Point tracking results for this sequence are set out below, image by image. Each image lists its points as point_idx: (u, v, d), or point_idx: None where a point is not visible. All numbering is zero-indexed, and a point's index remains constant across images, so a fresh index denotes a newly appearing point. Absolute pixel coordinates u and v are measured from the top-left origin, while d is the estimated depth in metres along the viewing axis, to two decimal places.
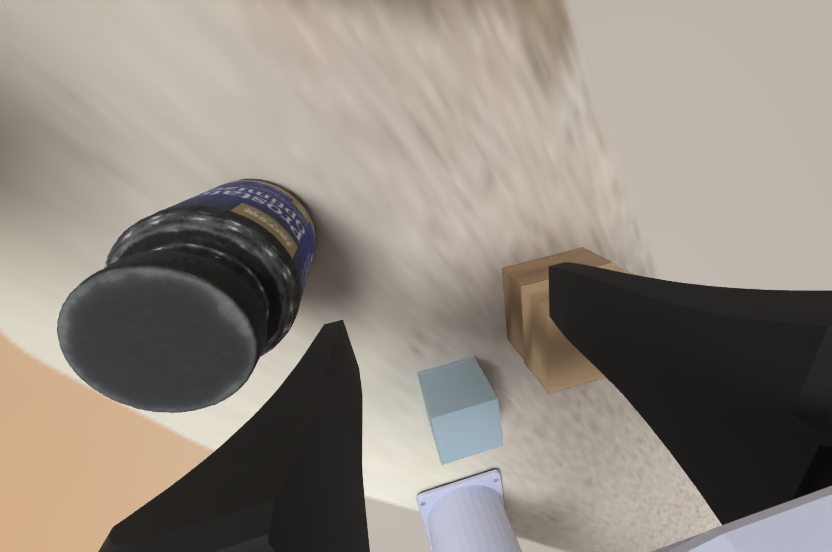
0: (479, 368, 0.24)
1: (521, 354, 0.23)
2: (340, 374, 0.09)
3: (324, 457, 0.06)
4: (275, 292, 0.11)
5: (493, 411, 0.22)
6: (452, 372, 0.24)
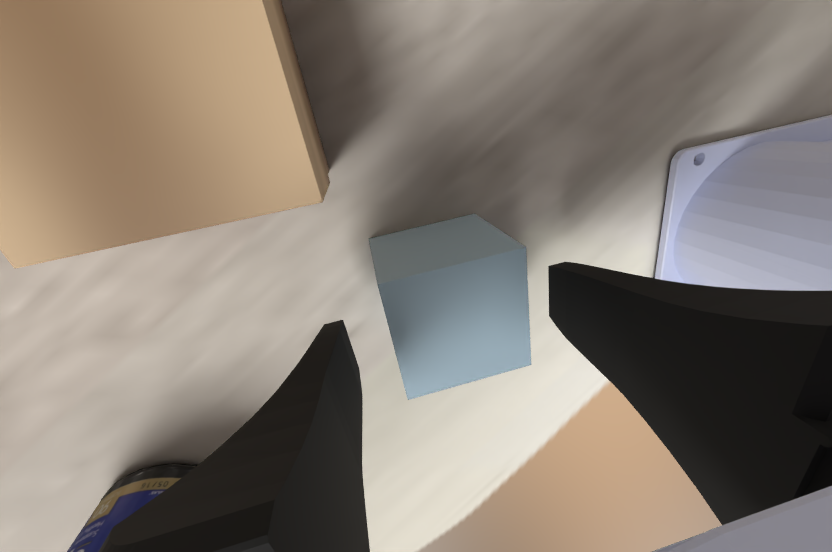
0: (371, 252, 0.12)
1: None
2: (340, 374, 0.09)
3: (324, 457, 0.06)
4: None
5: (414, 288, 0.10)
6: None
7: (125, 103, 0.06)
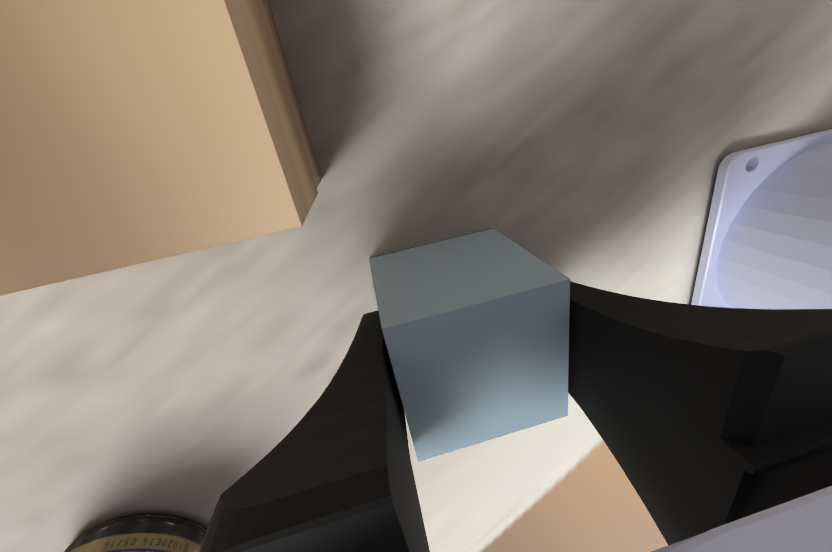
0: (373, 278, 0.10)
1: None
2: (388, 361, 0.09)
3: (395, 436, 0.06)
4: None
5: (429, 332, 0.08)
6: None
7: None
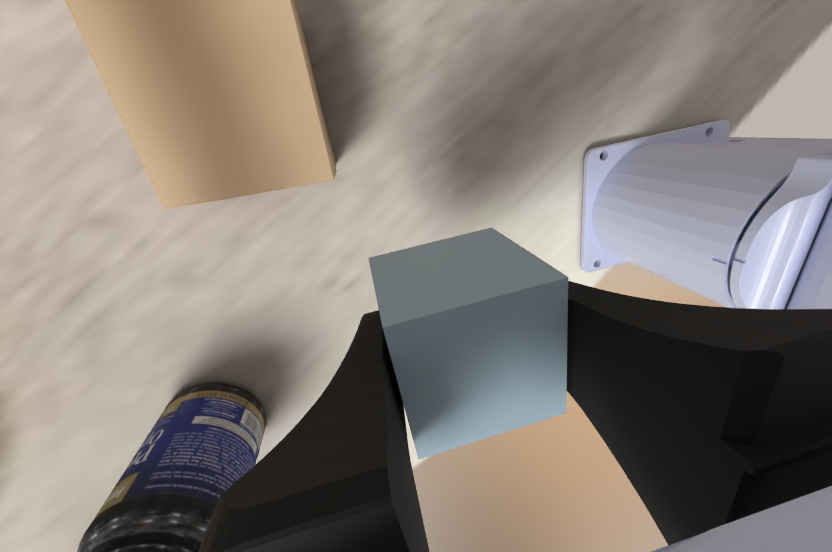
0: None
1: None
2: (388, 361, 0.09)
3: (395, 435, 0.06)
4: (124, 538, 0.13)
5: (429, 330, 0.08)
6: None
7: (234, 123, 0.11)
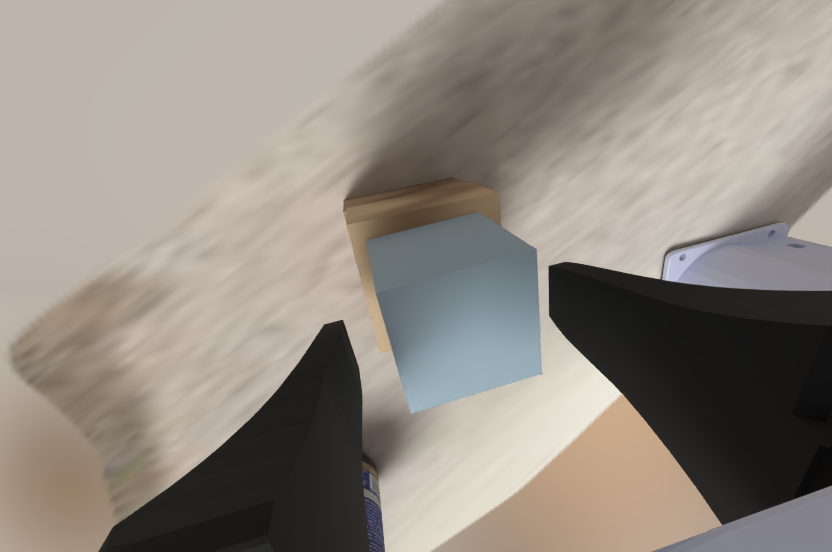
0: (369, 256, 0.11)
1: None
2: (340, 374, 0.09)
3: (324, 457, 0.06)
4: None
5: (416, 296, 0.09)
6: None
7: None
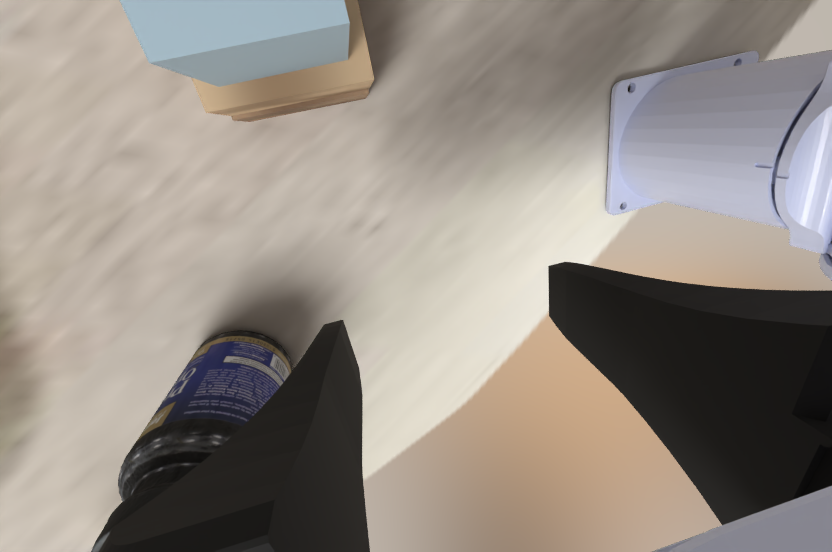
0: None
1: (363, 95, 0.15)
2: (340, 374, 0.09)
3: (324, 457, 0.06)
4: (167, 457, 0.13)
5: None
6: None
7: None
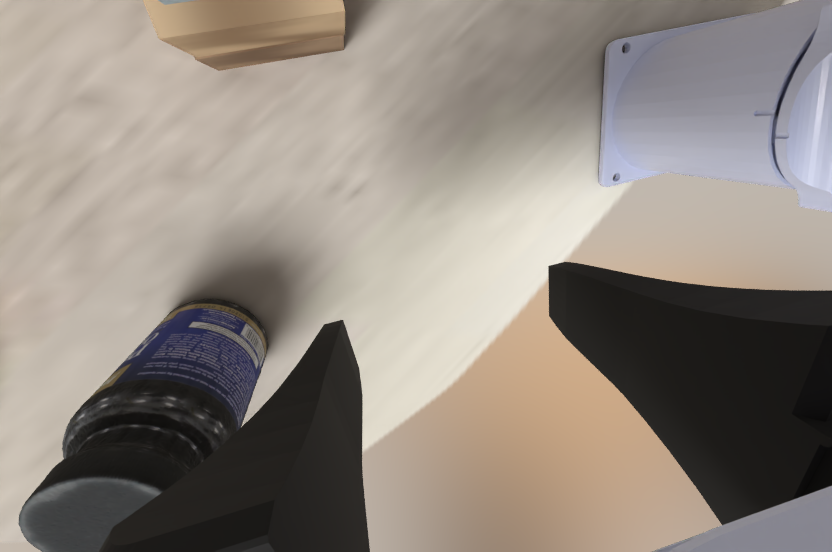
0: None
1: (338, 39, 0.14)
2: (340, 374, 0.09)
3: (324, 456, 0.06)
4: (114, 417, 0.12)
5: None
6: None
7: None
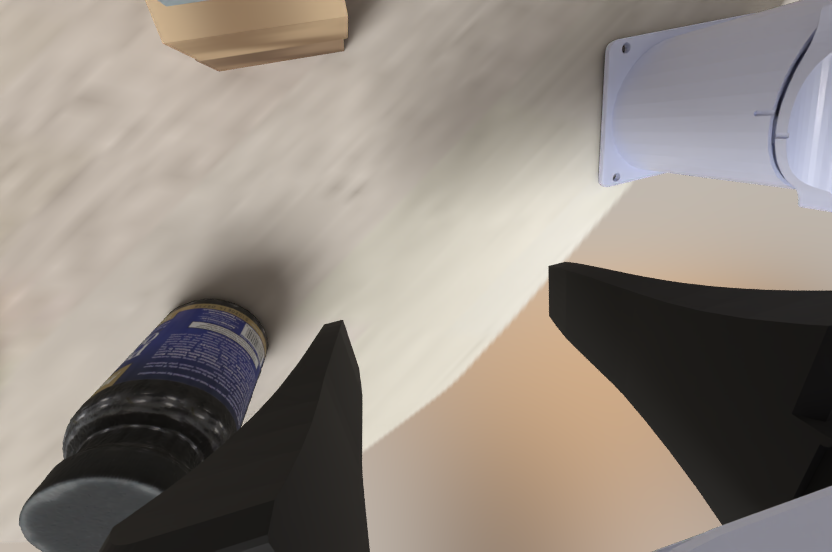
0: None
1: (338, 40, 0.14)
2: (340, 374, 0.09)
3: (324, 456, 0.06)
4: (114, 417, 0.12)
5: None
6: None
7: None
